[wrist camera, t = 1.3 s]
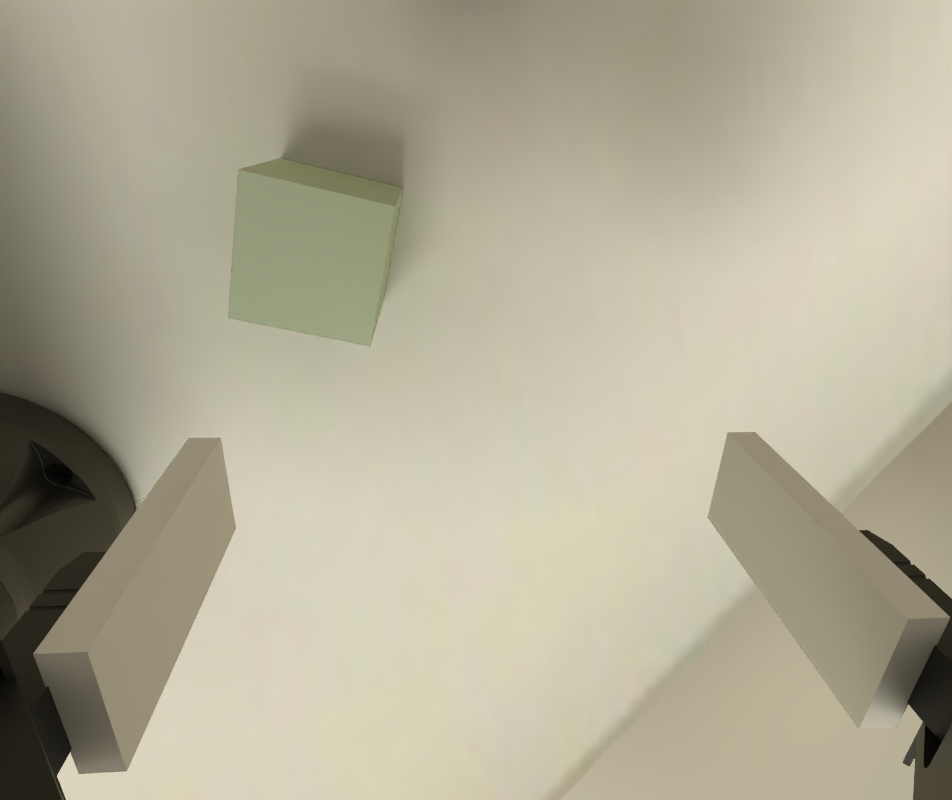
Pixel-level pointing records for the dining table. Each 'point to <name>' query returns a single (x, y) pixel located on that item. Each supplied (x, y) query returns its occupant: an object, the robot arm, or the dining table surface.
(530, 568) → the dining table surface
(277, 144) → the dining table surface
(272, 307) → the sage block
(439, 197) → the dining table surface
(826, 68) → the dining table surface
